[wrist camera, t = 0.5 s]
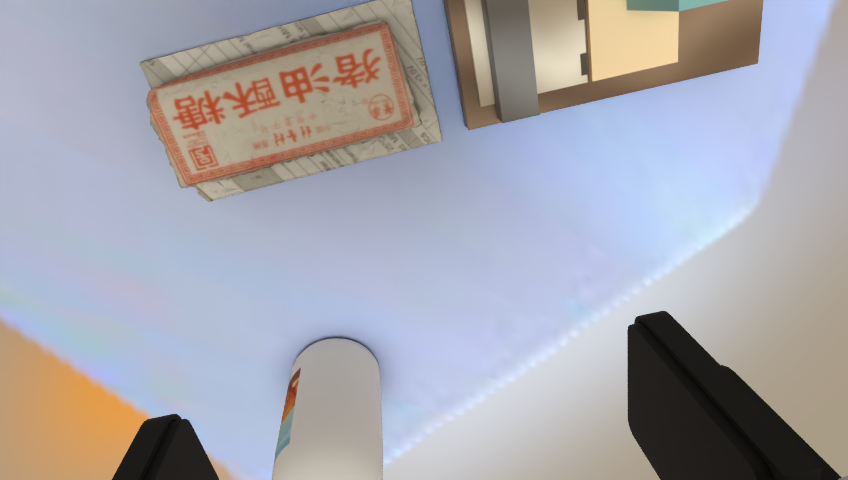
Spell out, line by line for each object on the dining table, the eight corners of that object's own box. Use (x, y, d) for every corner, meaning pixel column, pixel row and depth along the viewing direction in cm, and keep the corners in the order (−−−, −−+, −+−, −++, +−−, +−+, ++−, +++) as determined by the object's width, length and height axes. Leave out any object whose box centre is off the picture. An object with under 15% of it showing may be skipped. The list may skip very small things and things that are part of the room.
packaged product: (186, 223, 33) (111, 68, 29) (207, 197, 38) (144, 60, 33) (451, 153, 33) (415, -12, 29) (441, 136, 37) (408, -9, 33)
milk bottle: (321, 320, 43) (290, 552, 25) (396, 359, 45) (417, 595, 27) (275, 382, 45) (216, 636, 27) (349, 415, 47) (340, 668, 29)
